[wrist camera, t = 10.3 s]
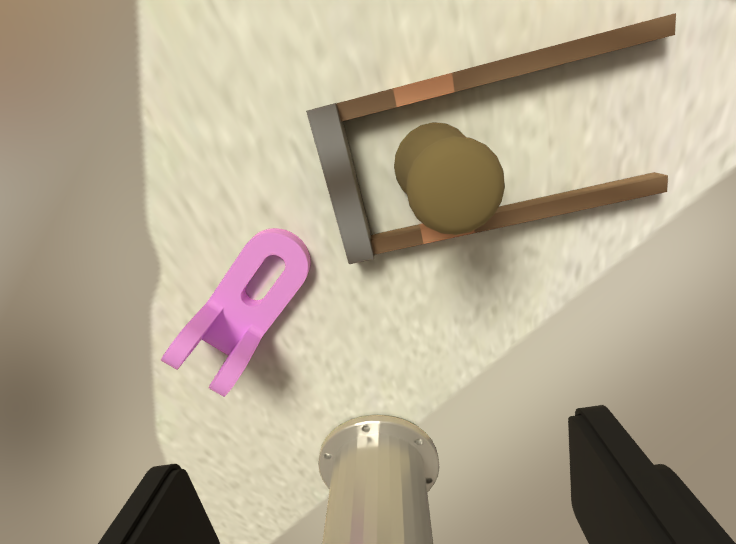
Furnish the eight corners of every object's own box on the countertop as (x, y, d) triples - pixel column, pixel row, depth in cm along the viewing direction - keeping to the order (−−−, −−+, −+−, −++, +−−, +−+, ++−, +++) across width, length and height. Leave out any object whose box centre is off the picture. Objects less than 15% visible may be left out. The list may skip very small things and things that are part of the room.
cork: (489, 169, 30) (544, 201, 20) (425, 218, 31) (446, 271, 21) (442, 103, 28) (477, 101, 18) (377, 159, 30) (375, 185, 20)
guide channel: (653, 187, 30) (676, 194, 28) (351, 253, 33) (348, 264, 30) (660, 18, 26) (687, 9, 23) (312, 110, 29) (306, 110, 26)
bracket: (246, 354, 37) (218, 405, 31) (194, 323, 36) (154, 369, 30) (323, 254, 33) (309, 288, 27) (267, 214, 32) (238, 241, 25)
